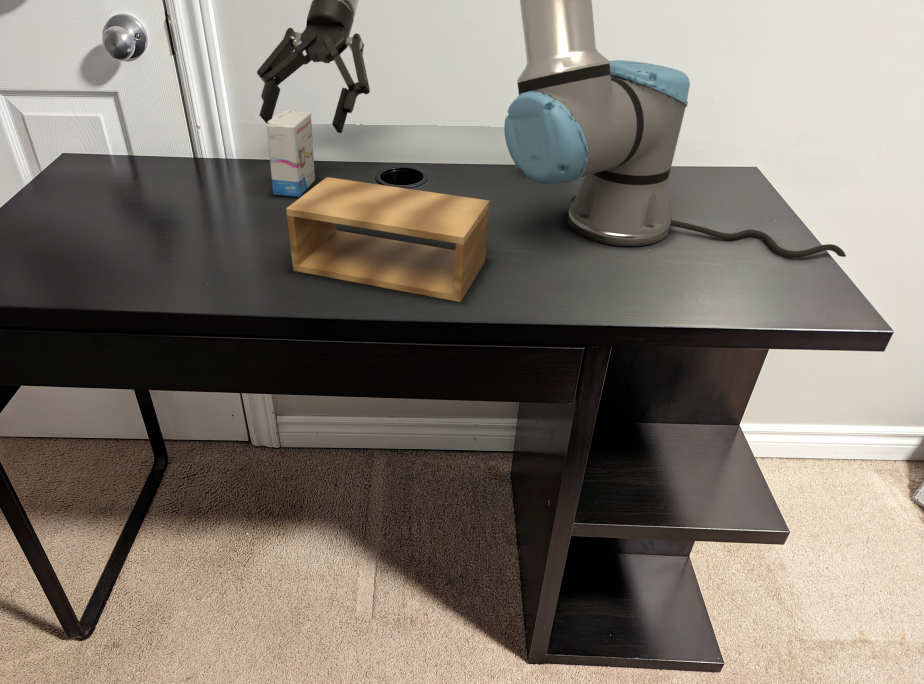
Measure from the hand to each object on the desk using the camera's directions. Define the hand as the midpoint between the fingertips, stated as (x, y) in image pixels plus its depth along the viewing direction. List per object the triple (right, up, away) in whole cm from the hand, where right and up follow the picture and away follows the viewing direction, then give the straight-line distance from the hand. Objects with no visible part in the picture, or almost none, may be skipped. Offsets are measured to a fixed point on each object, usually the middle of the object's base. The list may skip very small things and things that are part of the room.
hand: (300, 124), depth 114 cm
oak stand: (+16, -27, -20) cm, 37 cm away
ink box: (-1, -10, +3) cm, 11 cm away
